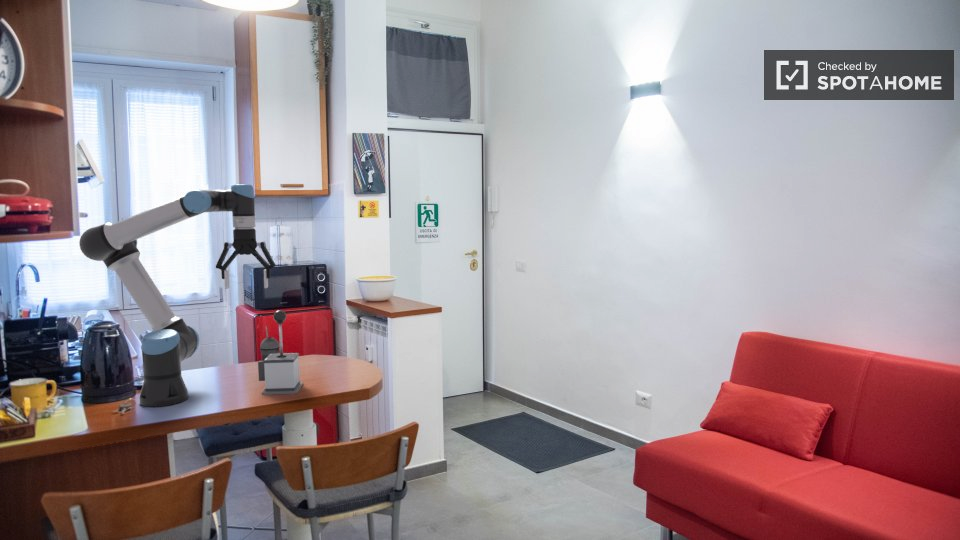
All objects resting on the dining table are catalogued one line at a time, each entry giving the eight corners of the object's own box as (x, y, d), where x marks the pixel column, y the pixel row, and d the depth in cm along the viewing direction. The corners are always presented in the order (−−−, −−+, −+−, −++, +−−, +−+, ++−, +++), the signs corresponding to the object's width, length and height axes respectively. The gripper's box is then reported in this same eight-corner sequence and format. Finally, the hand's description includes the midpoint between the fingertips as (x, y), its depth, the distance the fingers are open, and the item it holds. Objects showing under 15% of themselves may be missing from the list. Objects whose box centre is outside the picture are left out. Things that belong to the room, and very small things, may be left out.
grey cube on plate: (255, 394, 239) (253, 361, 238) (263, 385, 251) (262, 353, 250) (296, 393, 240) (295, 360, 239) (303, 384, 252) (301, 352, 251)
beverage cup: (275, 380, 258) (272, 328, 255) (257, 379, 259) (254, 327, 257) (284, 375, 265) (282, 324, 262) (267, 374, 266) (264, 323, 264)
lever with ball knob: (268, 367, 240) (265, 312, 238) (273, 361, 248) (270, 308, 246) (291, 366, 241) (288, 311, 239) (295, 361, 249) (293, 308, 247)
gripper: (204, 229, 237) (207, 289, 239) (278, 228, 239) (280, 288, 241) (211, 228, 244) (214, 287, 246) (282, 227, 246) (284, 286, 248)
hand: (246, 288), depth 244 cm, fingers open, 13 cm apart
